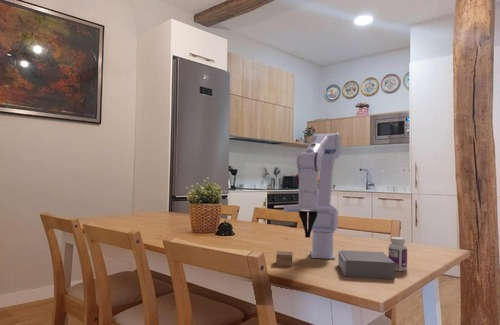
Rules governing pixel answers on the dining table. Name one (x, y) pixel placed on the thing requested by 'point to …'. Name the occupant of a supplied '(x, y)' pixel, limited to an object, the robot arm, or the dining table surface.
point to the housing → (369, 265)
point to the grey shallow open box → (342, 263)
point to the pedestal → (283, 258)
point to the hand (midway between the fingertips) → (307, 236)
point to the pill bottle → (398, 253)
